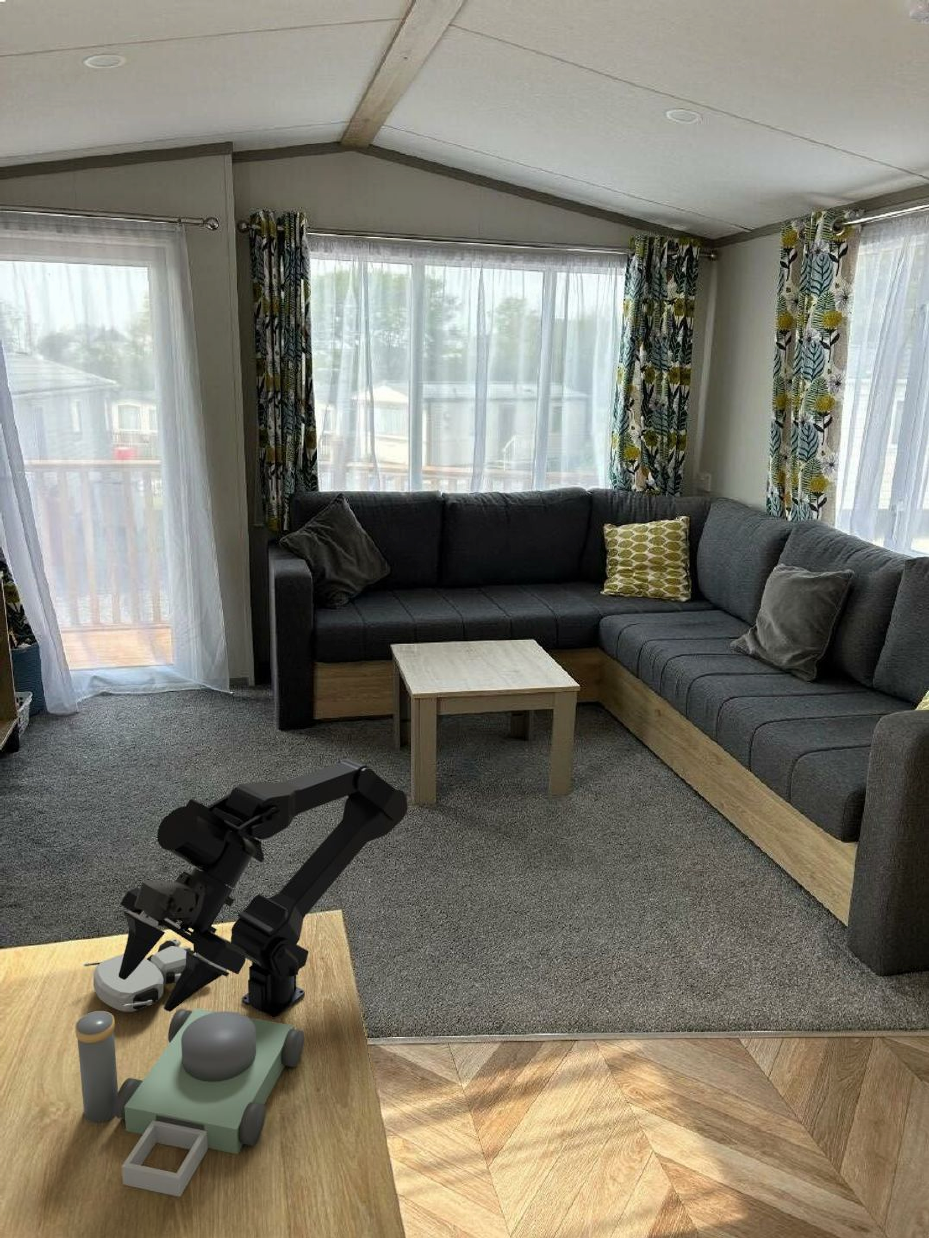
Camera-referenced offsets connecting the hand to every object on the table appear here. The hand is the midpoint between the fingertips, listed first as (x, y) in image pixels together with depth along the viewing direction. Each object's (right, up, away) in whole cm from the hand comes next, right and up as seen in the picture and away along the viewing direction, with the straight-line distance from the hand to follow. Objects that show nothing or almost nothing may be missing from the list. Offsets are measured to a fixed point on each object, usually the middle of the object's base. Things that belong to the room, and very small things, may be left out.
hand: (143, 994), depth 121 cm
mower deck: (+7, -14, -1) cm, 15 cm away
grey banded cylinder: (-5, -13, -2) cm, 14 cm away
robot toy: (-6, -7, +21) cm, 23 cm away
